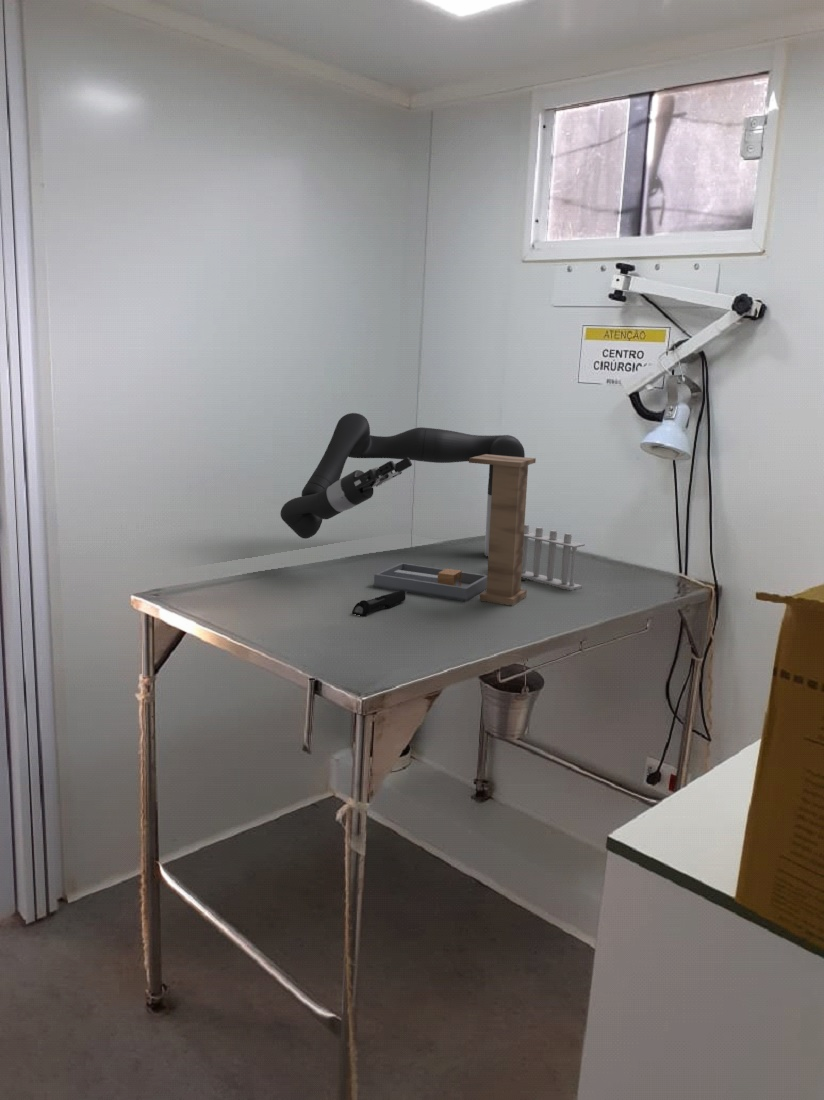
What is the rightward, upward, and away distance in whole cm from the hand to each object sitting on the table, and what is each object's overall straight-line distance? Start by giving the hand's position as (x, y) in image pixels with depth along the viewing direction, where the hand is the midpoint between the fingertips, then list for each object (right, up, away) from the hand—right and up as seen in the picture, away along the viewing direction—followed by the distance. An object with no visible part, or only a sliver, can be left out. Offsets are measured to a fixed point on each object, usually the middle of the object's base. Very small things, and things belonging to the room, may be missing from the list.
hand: (401, 462), depth 203 cm
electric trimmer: (-5, -34, -15) cm, 37 cm away
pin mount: (+21, -31, -4) cm, 38 cm away
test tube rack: (+33, -28, +14) cm, 46 cm away
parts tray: (+7, -29, +3) cm, 30 cm away
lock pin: (+6, -29, +2) cm, 29 cm away
